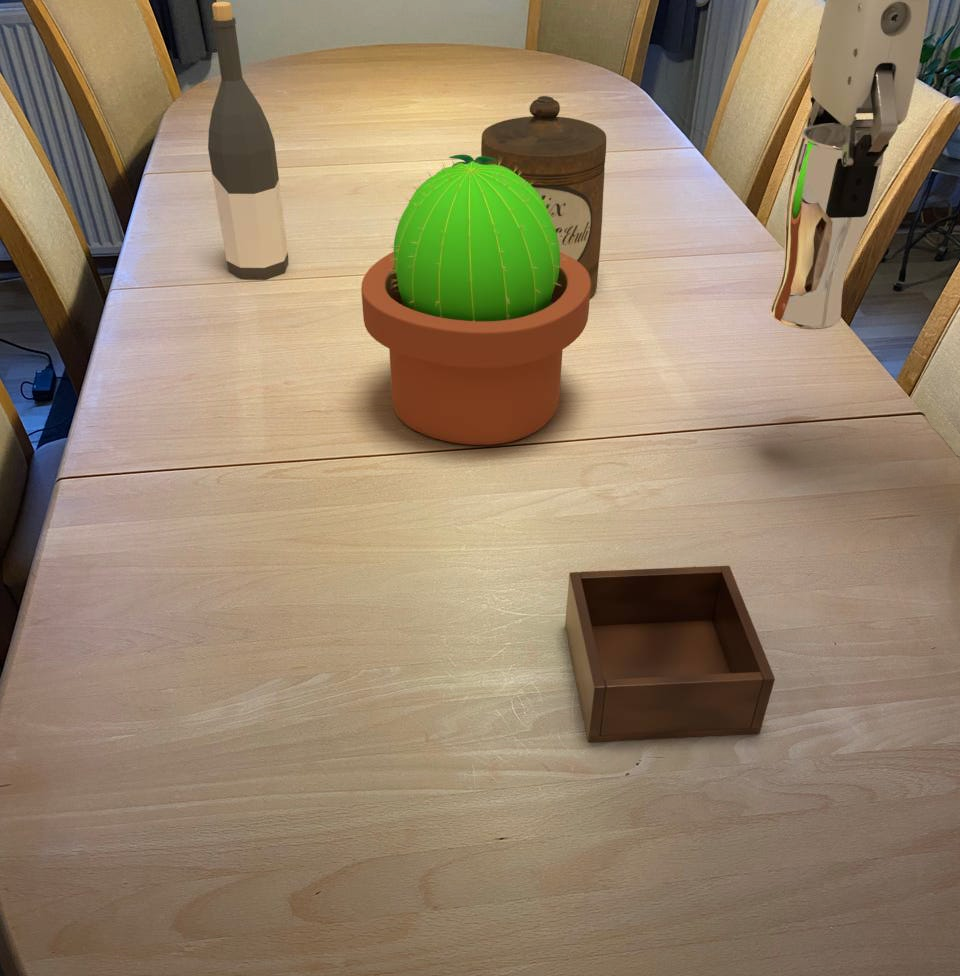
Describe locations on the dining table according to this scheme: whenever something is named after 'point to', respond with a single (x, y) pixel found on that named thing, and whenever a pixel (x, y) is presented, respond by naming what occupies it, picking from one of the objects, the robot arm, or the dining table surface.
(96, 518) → the dining table surface
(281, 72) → the dining table surface
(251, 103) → the wine bottle
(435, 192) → the potted cactus
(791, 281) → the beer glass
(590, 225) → the wooden container
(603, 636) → the crate
